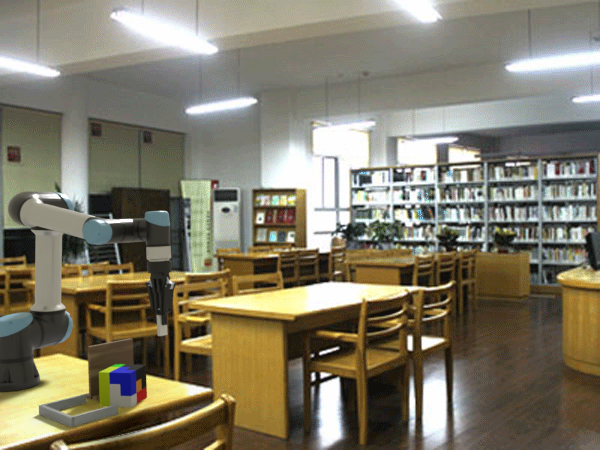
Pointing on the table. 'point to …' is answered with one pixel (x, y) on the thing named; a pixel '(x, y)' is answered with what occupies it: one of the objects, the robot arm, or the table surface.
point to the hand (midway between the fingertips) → (162, 335)
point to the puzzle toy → (122, 385)
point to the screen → (106, 361)
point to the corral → (52, 413)
